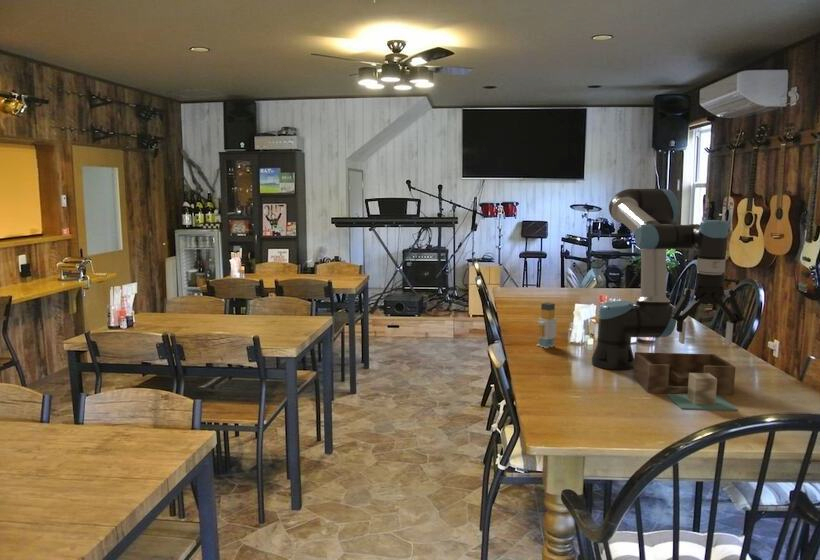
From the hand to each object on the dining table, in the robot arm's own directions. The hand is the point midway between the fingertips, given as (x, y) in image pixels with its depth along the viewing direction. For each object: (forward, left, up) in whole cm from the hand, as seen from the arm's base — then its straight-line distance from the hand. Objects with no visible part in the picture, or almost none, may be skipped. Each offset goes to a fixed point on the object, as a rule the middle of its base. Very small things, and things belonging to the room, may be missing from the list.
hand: (704, 343), depth 191 cm
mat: (0, 0, -18) cm, 18 cm away
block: (0, 0, -18) cm, 18 cm away
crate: (0, +17, -18) cm, 25 cm away
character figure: (-36, +69, -19) cm, 80 cm away
